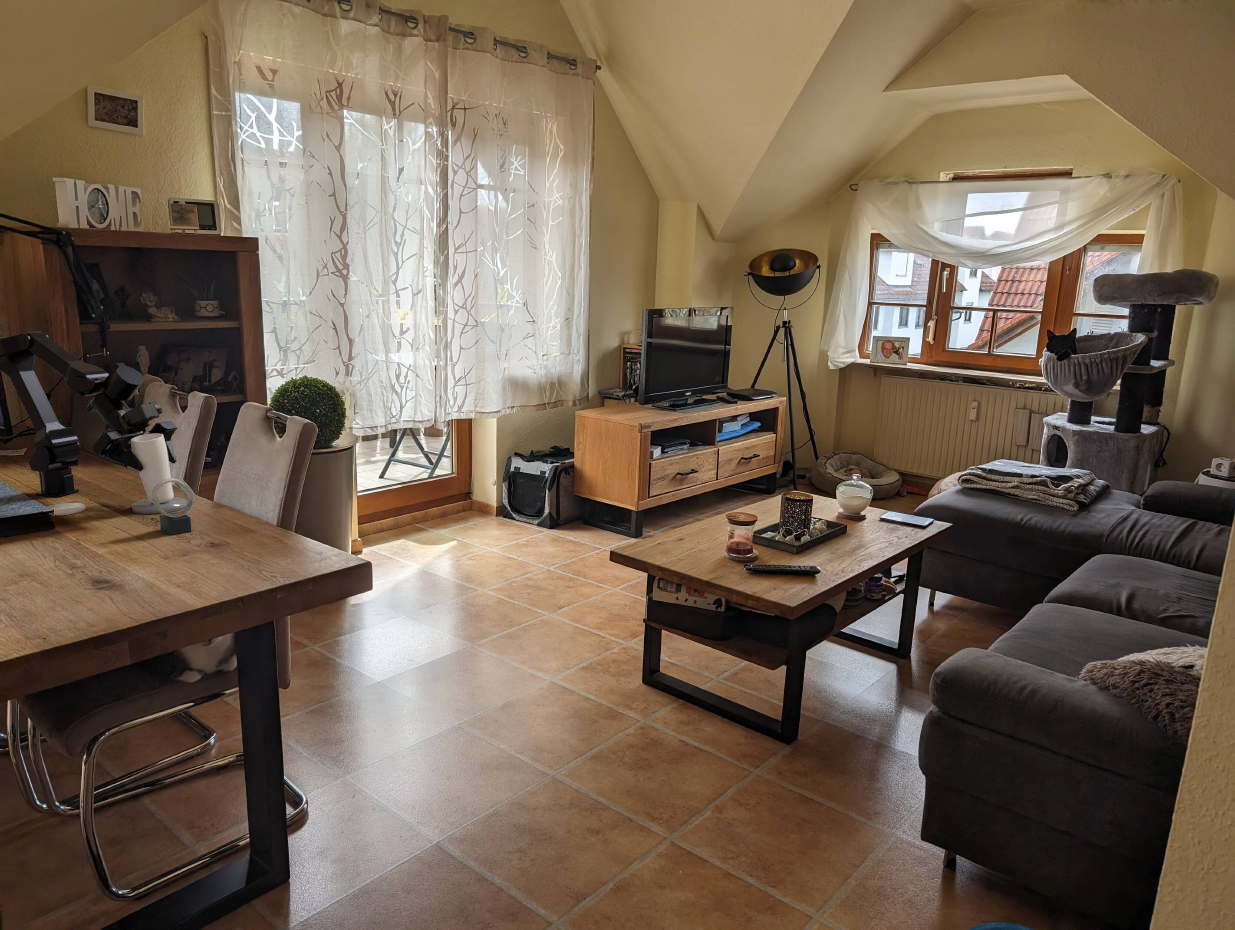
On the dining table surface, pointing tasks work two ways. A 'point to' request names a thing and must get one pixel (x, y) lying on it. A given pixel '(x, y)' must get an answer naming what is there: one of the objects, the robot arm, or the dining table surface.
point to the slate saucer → (169, 506)
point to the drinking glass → (153, 464)
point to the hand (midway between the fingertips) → (158, 466)
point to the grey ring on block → (179, 520)
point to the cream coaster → (67, 508)
